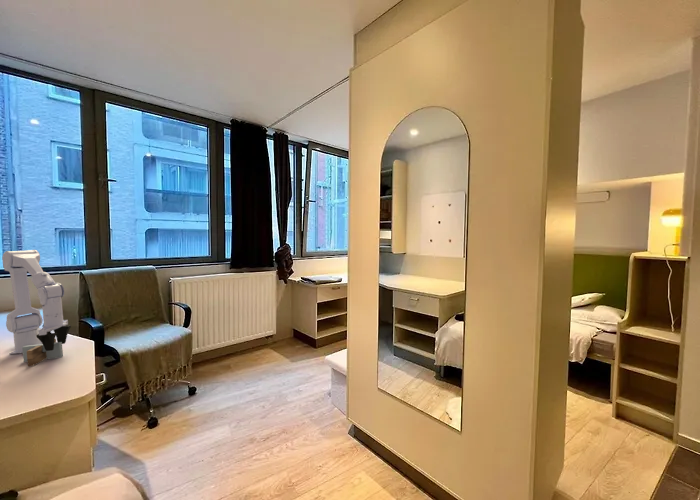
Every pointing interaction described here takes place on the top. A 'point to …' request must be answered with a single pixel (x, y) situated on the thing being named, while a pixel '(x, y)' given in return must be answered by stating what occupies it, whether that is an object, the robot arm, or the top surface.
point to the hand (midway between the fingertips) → (55, 347)
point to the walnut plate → (36, 355)
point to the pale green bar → (54, 353)
